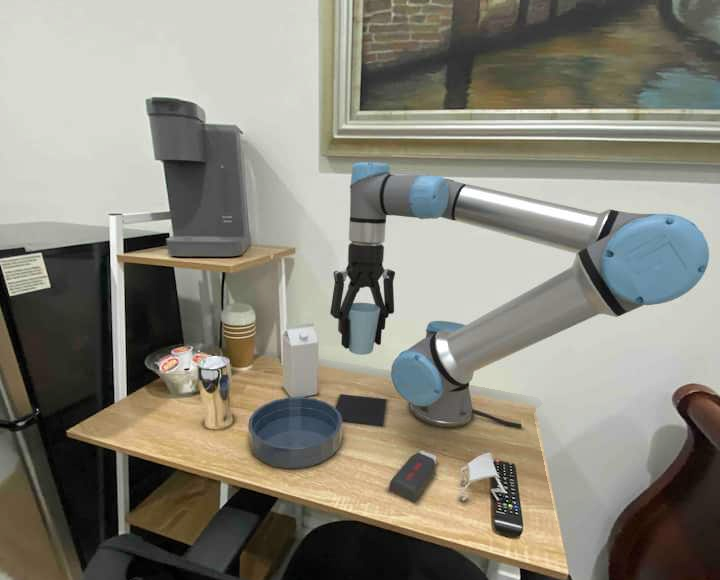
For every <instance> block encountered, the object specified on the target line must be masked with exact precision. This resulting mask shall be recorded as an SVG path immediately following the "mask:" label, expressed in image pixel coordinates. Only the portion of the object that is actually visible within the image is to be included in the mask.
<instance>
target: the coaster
mask: <svg viewBox="0 0 720 580" xmlns="http://www.w3.org/2000/svg"><path fill="white" fill-rule="evenodd" d="M386 402H387V399H386V398H380V397H379V398H377V397H371V396H370V397H369V396H360V395H353V394H344V393H340V395H339V397H338V400H337V403H336V406H335V408H336V409H337V410H338V411H339V412H340V414H341V417H342V421H343V423H351V424H361V425H369V426H377V427H384V425H383V424H384V418H385V408H386Z"/></svg>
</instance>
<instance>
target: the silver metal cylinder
mask: <svg viewBox="0 0 720 580" xmlns="http://www.w3.org/2000/svg"><path fill="white" fill-rule="evenodd" d="M196 365H197V383H198V389H199V394H200V396H201V400H202V402H203V406H204V413H205V414H204V415H205V416H204V426H205V428H208V429H209V430H221V429H225V428H227V427H229V426H230V425H231V424H232V423H233V421H234V418H233V414H232V410H231V397H232V390H233V374H232V367H231V361H230V359H229V358H228V357H226V356H222V355H212V356H211V355H210V356H206V357H204V358H201V359H199V360H198V361H197V364H196Z"/></svg>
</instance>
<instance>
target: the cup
mask: <svg viewBox="0 0 720 580" xmlns="http://www.w3.org/2000/svg"><path fill="white" fill-rule="evenodd" d="M379 313H380V307H378V306H376V305H375V303H370V302H353V304H352V307H351V309H350V312H349V314H348V317H347V319H348V320H350V332H349V348H348V350H349V352H350V353H351V354H354V355H358V356H359V355H361V356H363V355H364V356H365V355H369V354H371V353H373V351H374V345H375V342H374V341H375V335H376V330H377V324H378V319H379Z"/></svg>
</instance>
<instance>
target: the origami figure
mask: <svg viewBox="0 0 720 580" xmlns="http://www.w3.org/2000/svg"><path fill="white" fill-rule="evenodd" d="M491 454H492V452H486V453H484V454H481V455H478V456H476V457H474V458H473V459H472V460H471V461H469V462H467V463H466V465H465V466H463V467H461V468H460V473H461V475H462V477H463V479H464V482H463V483H462V485H463V487H461V489H460V490H458V492H457V494H459V495H462V496H463V497H462V498H461V501H465V500H466V499H467V498H469V494H467V493H464V491H466V490H467V488H468V487H469V485H470V484H471V483H474V482H478V481H481V480H485V479H490V478H494V479H495V480H496V482H497V483H498V485H499V488H498V487H496V488H490V491H491V493H492V494H493V497H494V498H495V499H496V501H500V499H499V496H498V495H497V494H496V493H502V494H507V491H506V488H505V487H504V485H503V484H502V482H501V481H500V475H499V473H498V471H497V469H496V467H495V464H494V462H495V458H494V457H493V456H492V455H491ZM466 469H467V475H468V479H467V477H466V474H465V472H464V471H465V470H466Z"/></svg>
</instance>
